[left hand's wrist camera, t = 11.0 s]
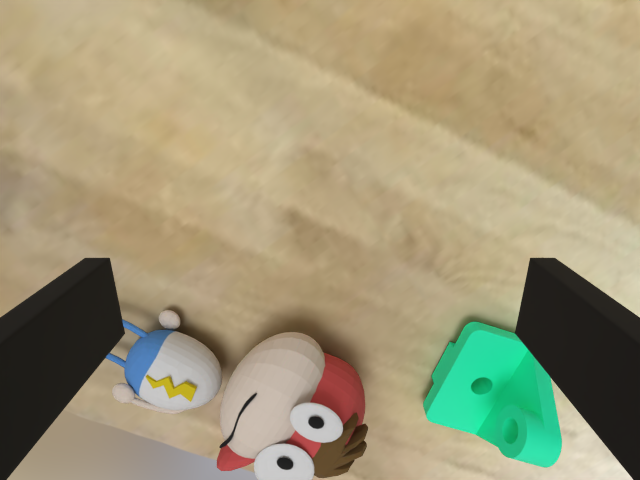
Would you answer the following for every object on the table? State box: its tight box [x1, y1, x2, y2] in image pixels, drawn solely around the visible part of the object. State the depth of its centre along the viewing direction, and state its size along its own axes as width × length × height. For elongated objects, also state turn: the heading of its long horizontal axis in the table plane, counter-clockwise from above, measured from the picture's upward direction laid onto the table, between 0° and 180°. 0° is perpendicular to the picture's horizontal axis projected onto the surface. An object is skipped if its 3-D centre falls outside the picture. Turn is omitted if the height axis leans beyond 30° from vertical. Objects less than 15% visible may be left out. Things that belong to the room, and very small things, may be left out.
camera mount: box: [423, 322, 562, 467], centre depth 38 cm, size 12×8×10 cm, turn 161°
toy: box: [105, 310, 368, 480], centre depth 39 cm, size 18×10×30 cm
